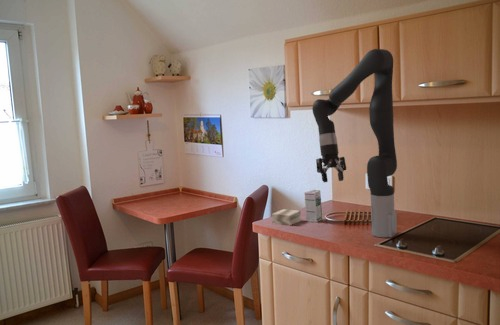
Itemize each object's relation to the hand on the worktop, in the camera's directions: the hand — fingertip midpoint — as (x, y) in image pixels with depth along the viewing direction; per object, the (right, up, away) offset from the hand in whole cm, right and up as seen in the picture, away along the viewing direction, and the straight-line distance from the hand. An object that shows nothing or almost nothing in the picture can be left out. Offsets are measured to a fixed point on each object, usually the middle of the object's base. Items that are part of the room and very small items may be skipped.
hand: (333, 181), depth 193 cm
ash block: (-18, -21, +22) cm, 35 cm away
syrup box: (-5, -20, +21) cm, 29 cm away
